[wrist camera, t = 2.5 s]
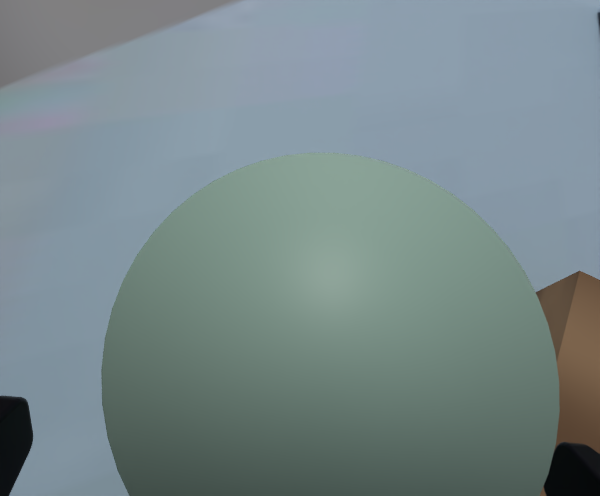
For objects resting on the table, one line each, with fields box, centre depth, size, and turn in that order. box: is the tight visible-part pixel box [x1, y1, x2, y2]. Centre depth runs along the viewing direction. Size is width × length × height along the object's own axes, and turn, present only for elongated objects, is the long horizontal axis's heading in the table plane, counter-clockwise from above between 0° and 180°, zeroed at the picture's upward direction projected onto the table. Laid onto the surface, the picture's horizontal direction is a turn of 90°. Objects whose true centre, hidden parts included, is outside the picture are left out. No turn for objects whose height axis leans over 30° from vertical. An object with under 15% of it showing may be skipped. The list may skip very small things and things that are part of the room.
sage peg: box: [102, 153, 560, 496], centre depth 10 cm, size 4×4×12 cm
